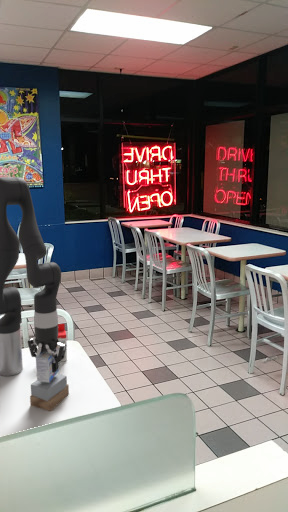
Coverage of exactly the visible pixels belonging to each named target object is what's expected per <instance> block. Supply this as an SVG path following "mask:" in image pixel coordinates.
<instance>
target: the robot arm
mask: <svg viewBox="0 0 288 512" xmlns="http://www.w3.org/2000/svg"><path fill="white" fill-rule="evenodd" d="M16 205H19V207H20V209H21V214H22V215H21V221H20V225H19V228H18V233H16V231H15V230H14V227H13V226H12V225H11V223H10V221H9V219H8V215H7V214H8V213H7V206H16ZM35 213H36V212H35V208H34V204H33V199H32V194H31V190H30V187H29V184H28V182H27V181H26V180H25V178H23V177H20V176H19V177H17V176H16V177H15V176H5V177H4V176H2V177H1V176H0V316H1V315H2V317H1V318H0V375H1V376H5V377H7V376H8V377H9V376H10V377H11V376H15V375H17V374H19V373H21V372H22V371H23V369H24V368H23V367H24V366H23V349H22V333H21V332H22V331H21V323H22V298H21V294H20V291H19V290H18V289H17V288H16V287H15V286H9V287H6V288H5V284H6V281H7V279H8V277H9V276H10V274H11V273H12V271H13V269H14V268H15V267H16V265H17V263H18V261H19V257H20V246H21V249H22V252H23V255H24V258H25V267H26V268H25V269H26V279H27V282H28V284H30V286H32V287H34V288H40V287H44V288H43V289H41V290H40V291H38V292H36V293H35V294H34V296H33V308H34V309H33V311H34V313H33V314H34V315H33V321H34V323H33V324H34V337H32V338H30V339H28V340H27V345H28V350H29V352H30V356H31V357H32V358H35V359H36V358H37V357H38V356H39V355H40V354H41V353H42V352H47V353H48V354H49V356H50V357H51V359H52V372H53V373H55V372H56V371H57V370H58V368H60V367H58V365H59V363H61V362H62V361H61V360H63V359H64V355H65V351H66V347H68V344H67V343H66V344H61V343H59V340H58V324H59V320H58V318H59V317H58V316H59V315H58V310H57V309H58V306H57V296H58V292H59V287H60V284H61V280H62V271H61V268H60V265H58V264H57V263H56V262H54V261H52V262H44V263H38V261H39V260H41V259H43V258H45V257H46V255H47V253H48V251H47V247H46V245H45V242H44V240H43V237H42V235H41V232H40V229H39V225H38V222H37V217H36V214H35ZM57 346H58V350H59V353H58V350H57ZM52 352H53V353H52Z"/></svg>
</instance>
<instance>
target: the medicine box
mask: <svg viewBox="0 0 288 512" xmlns="http://www.w3.org/2000/svg"><path fill="white" fill-rule="evenodd" d="M57 350H58V349H57ZM52 353H53V352H52ZM35 365H36V366H35V367H36V381H40V382H48V383H49V382H50V381H51V380H52V379H53V377H54V376H55V375H56V374H57V373H59V368H60V367H59V366H60V365H59V364H58V367H59V368H58V370H57V371H56V372H55V373H53V372H52V359H51V357H50V356H49V354H48V353H47V352H42V353H41V354H40V355H39V356H38V357H37V358H35Z"/></svg>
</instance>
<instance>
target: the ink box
mask: <svg viewBox="0 0 288 512" xmlns="http://www.w3.org/2000/svg"><path fill="white" fill-rule="evenodd" d="M65 327H66V326H65V323H58V340H59V343H61V344H66V345H67V332H66V330H65V329H66V328H65ZM67 347H68V346H67ZM67 347H66V351H65V355H64V359H63V360H61V361H60V362H65V361H66V362H67V361H68V360H67V359H68V356H67V355H68V353H67V350H68V349H67ZM57 349H58V346H57ZM58 353H59V350H58Z"/></svg>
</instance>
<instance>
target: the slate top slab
mask: <svg viewBox="0 0 288 512" xmlns="http://www.w3.org/2000/svg"><path fill="white" fill-rule="evenodd" d="M67 381H68V380H67V375H66V374H65V375H64V374H62V373H59V372H57V374H56V375H55V376H54V377H53V379H52V380H51V381H50V382H49V383H48V382H40V381H37V380H35V381H34V382H32V383H30V396H31V395H32V396H35V397H38V398H40V399H43V400H46V401H48V400H50V399H51V398H52V397H54V396H55V395H56V394H58V393H59V392H60V391H61V390H63V389H64V388H65V387H67V384H68V382H67Z"/></svg>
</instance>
